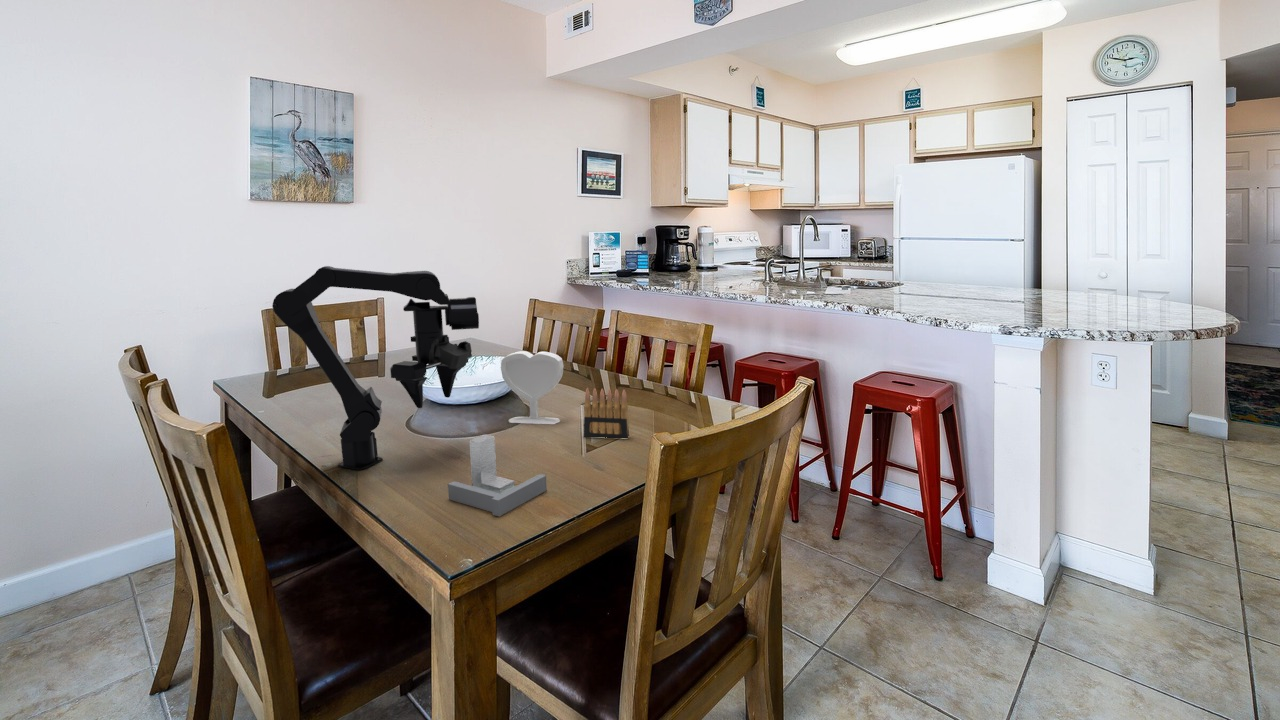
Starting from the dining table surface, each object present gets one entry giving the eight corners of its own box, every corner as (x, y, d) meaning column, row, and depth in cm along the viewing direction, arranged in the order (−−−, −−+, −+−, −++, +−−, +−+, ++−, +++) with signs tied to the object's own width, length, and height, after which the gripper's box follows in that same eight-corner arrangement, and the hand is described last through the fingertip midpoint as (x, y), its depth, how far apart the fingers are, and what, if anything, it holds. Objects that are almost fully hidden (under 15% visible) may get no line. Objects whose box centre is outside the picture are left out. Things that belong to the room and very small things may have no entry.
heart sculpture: (502, 422, 163) (498, 353, 159) (508, 416, 167) (505, 350, 164) (561, 424, 161) (559, 355, 157) (565, 418, 166) (563, 351, 162)
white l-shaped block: (472, 490, 119) (469, 440, 117) (487, 483, 123) (484, 434, 121) (500, 498, 116) (497, 446, 114) (515, 490, 119) (512, 440, 117)
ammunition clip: (629, 437, 151) (628, 388, 148) (627, 439, 149) (627, 390, 147) (585, 435, 152) (584, 386, 150) (583, 437, 151) (582, 388, 148)
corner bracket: (445, 500, 116) (444, 485, 115) (495, 477, 126) (494, 462, 126) (499, 516, 109) (498, 500, 108) (546, 490, 120) (546, 475, 119)
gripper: (431, 340, 122) (437, 418, 125) (486, 326, 139) (490, 395, 142) (385, 337, 126) (392, 412, 129) (444, 324, 143) (449, 391, 146)
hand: (434, 402), depth 137 cm, fingers open, 9 cm apart
